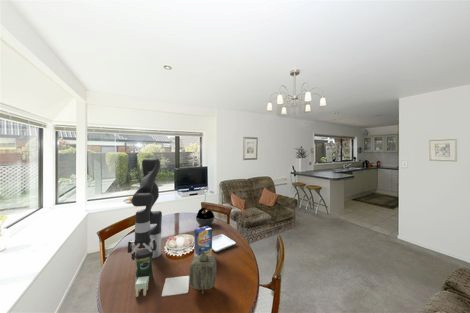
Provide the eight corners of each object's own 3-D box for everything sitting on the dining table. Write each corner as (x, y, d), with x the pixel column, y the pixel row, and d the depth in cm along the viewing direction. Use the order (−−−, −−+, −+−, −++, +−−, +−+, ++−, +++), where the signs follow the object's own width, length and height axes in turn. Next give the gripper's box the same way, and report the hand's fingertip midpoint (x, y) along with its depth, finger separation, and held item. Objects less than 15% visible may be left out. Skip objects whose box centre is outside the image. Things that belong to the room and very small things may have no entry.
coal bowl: (194, 223, 201) (195, 206, 200) (212, 221, 207) (212, 205, 206) (196, 230, 182) (196, 211, 181) (216, 228, 188) (216, 210, 187)
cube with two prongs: (138, 289, 101) (138, 277, 101) (148, 288, 102) (148, 276, 102) (135, 297, 96) (135, 284, 96) (145, 295, 97) (146, 282, 97)
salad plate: (215, 255, 138) (215, 250, 138) (201, 244, 155) (201, 240, 154) (236, 246, 152) (236, 242, 152) (222, 237, 168) (222, 233, 168)
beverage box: (211, 258, 133) (212, 228, 133) (198, 263, 126) (198, 232, 126) (207, 253, 139) (207, 225, 139) (194, 259, 132) (194, 229, 132)
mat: (165, 279, 110) (165, 278, 110) (189, 276, 113) (189, 275, 113) (161, 296, 97) (161, 296, 97) (188, 293, 99) (188, 292, 99)
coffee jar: (151, 273, 116) (152, 244, 115) (153, 280, 109) (153, 250, 109) (134, 278, 110) (134, 248, 110) (135, 286, 104) (135, 254, 104)
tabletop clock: (216, 285, 106) (216, 242, 106) (215, 297, 97) (215, 251, 97) (191, 285, 105) (192, 242, 105) (188, 297, 96) (188, 251, 96)
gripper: (157, 225, 104) (157, 253, 104) (131, 227, 101) (130, 256, 101) (154, 231, 97) (154, 261, 97) (125, 233, 94) (125, 264, 94)
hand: (142, 258), depth 99 cm, fingers open, 8 cm apart
